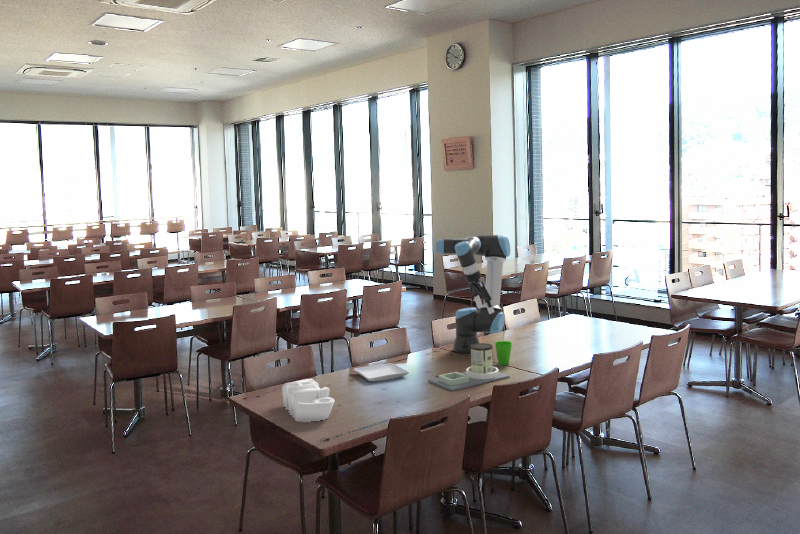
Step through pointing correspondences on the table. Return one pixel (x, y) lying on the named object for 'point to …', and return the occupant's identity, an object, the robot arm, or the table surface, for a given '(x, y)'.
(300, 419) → the wavy white extrusion
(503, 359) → the cup
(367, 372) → the salad plate
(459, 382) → the sorting board
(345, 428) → the table surface
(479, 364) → the coffee can
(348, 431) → the table surface
